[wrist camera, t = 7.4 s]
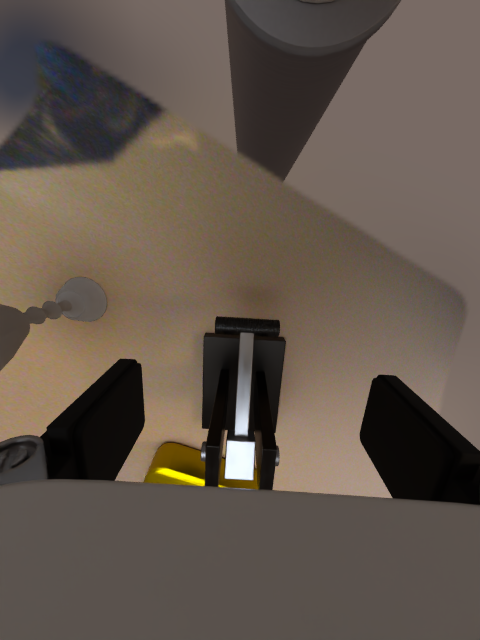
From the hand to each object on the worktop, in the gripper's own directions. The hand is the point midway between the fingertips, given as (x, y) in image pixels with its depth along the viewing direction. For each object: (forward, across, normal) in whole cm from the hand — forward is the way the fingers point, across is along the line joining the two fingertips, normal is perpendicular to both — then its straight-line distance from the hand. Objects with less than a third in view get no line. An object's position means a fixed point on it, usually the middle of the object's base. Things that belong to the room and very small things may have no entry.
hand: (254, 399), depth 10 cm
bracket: (+18, 0, +10) cm, 21 cm away
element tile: (+18, +5, +28) cm, 34 cm away
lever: (+10, 0, +6) cm, 12 cm away
